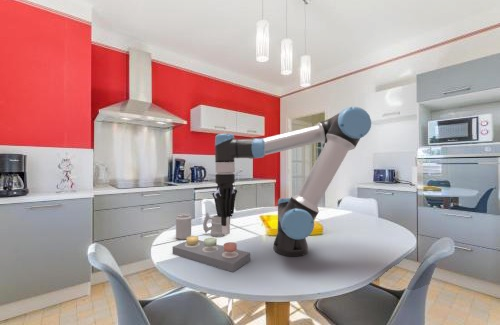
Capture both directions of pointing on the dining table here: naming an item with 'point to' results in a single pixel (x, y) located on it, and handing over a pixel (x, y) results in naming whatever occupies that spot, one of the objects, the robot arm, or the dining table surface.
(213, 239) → the button sage
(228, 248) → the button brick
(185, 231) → the can
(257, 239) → the dining table surface
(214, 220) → the mug
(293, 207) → the robot arm
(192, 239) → the button ochre
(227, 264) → the console
